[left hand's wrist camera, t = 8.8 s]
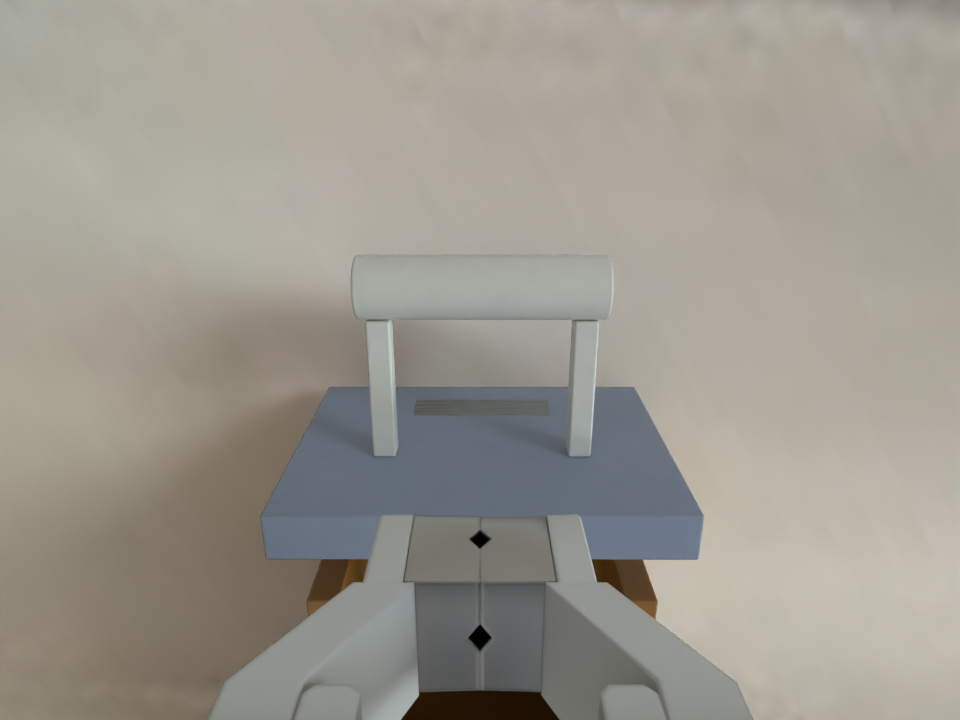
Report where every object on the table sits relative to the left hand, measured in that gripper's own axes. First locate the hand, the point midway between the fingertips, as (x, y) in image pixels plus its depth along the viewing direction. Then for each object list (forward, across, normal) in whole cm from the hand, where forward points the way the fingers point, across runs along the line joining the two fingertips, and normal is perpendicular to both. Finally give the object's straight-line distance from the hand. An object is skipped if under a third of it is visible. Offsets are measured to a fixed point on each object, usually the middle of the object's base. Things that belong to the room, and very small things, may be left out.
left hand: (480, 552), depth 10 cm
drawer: (+12, 0, -8) cm, 14 cm away
